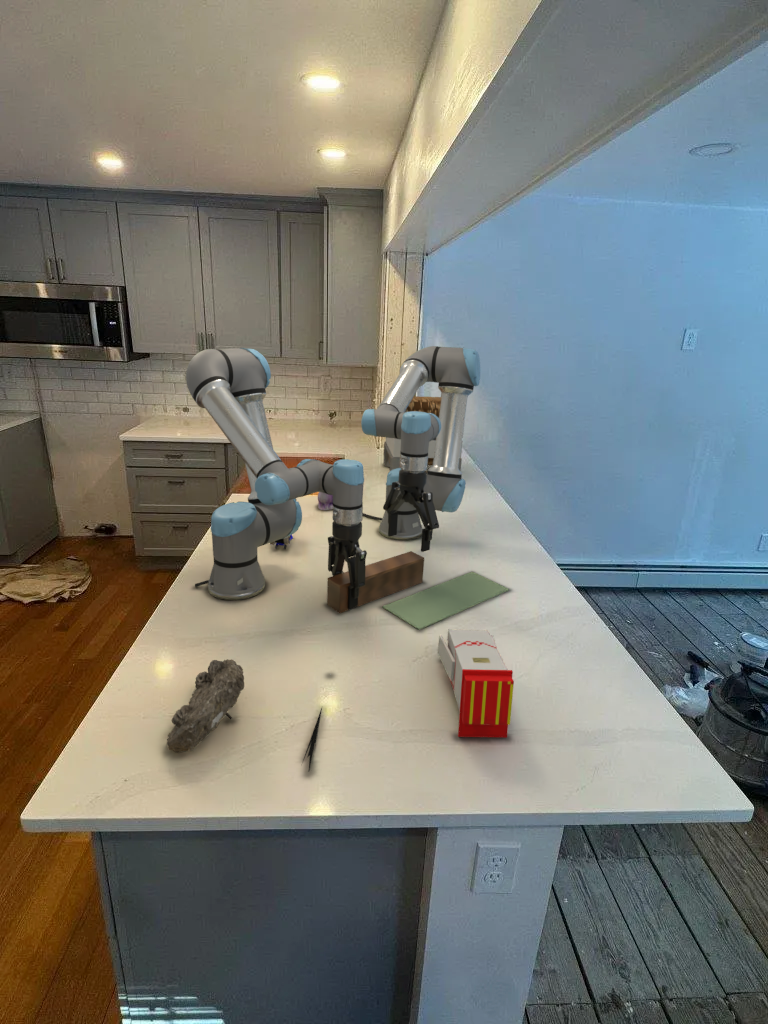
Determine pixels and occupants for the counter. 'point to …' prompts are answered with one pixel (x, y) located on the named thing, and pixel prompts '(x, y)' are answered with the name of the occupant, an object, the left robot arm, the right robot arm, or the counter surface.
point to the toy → (478, 682)
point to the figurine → (325, 501)
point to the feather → (313, 740)
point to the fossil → (206, 705)
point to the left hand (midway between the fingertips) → (345, 602)
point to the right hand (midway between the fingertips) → (408, 542)
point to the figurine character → (282, 542)
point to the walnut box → (377, 580)
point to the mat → (444, 600)
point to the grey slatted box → (394, 444)
